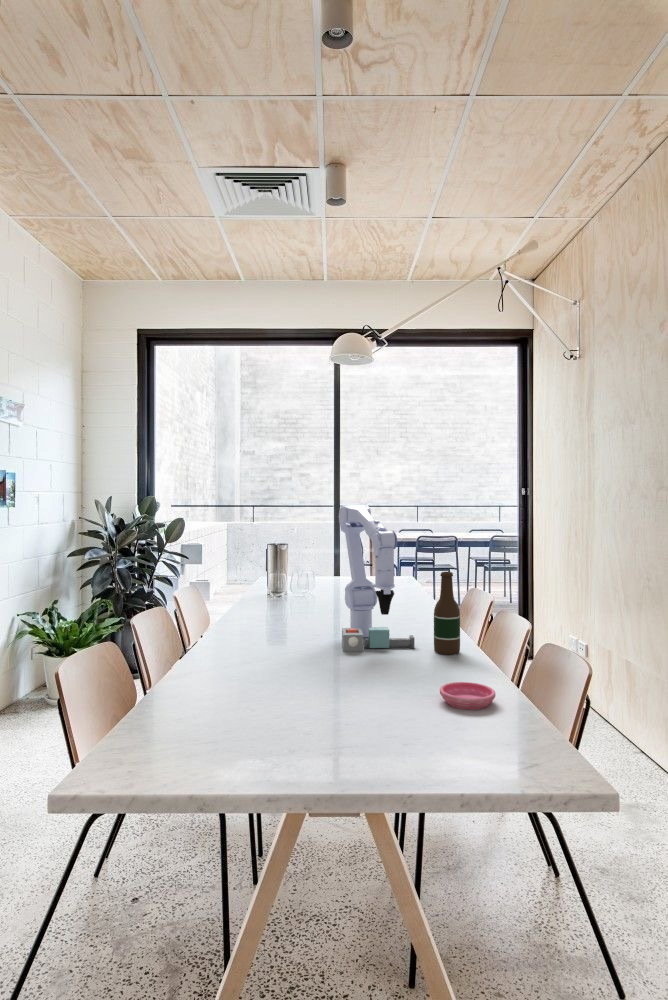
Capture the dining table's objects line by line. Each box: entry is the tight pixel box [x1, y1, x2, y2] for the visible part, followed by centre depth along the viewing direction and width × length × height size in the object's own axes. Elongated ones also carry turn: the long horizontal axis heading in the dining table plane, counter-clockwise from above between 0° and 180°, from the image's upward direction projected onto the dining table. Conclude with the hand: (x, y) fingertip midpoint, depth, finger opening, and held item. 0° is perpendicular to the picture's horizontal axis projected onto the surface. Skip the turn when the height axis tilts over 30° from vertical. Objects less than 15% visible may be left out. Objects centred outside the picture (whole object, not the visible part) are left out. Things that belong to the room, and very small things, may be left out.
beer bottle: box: [433, 571, 461, 656], centre depth 191 cm, size 8×8×24 cm
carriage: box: [368, 626, 390, 649], centre depth 198 cm, size 4×6×5 cm
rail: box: [364, 634, 415, 649], centre depth 198 cm, size 4×15×3 cm, turn 92°
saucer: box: [439, 681, 496, 710], centre depth 145 cm, size 12×12×3 cm
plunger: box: [348, 629, 357, 633], centre depth 197 cm, size 3×3×4 cm
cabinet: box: [341, 627, 364, 653], centre depth 197 cm, size 10×6×5 cm, turn 2°
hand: (384, 614), depth 197 cm, fingers closed
